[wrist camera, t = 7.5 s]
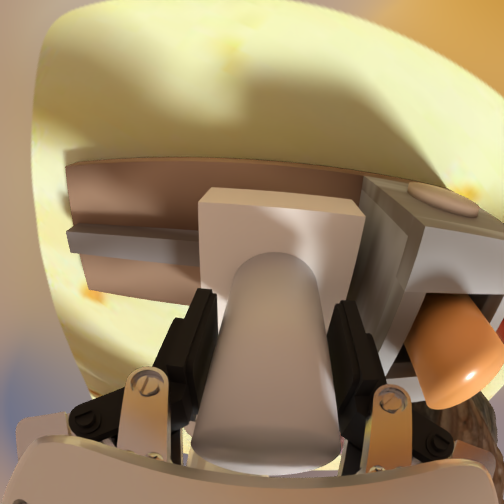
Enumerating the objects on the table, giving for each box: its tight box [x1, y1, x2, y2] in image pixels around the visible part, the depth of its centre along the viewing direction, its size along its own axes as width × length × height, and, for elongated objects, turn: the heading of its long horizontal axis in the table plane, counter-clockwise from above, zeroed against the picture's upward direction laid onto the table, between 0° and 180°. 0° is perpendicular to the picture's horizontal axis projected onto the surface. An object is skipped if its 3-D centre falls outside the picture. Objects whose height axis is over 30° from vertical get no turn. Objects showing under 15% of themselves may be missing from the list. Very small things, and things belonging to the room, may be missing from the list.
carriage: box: [191, 187, 366, 475], centre depth 11 cm, size 8×7×12 cm
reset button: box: [404, 293, 504, 410], centre depth 9 cm, size 4×4×4 cm
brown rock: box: [411, 391, 504, 504], centre depth 18 cm, size 13×13×20 cm
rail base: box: [65, 157, 504, 402], centre depth 14 cm, size 10×26×9 cm, turn 87°
